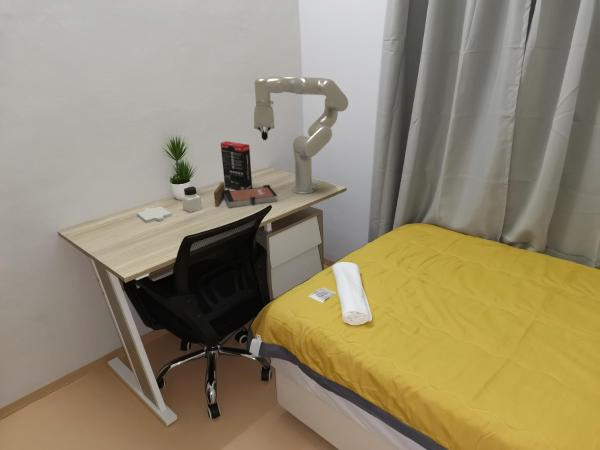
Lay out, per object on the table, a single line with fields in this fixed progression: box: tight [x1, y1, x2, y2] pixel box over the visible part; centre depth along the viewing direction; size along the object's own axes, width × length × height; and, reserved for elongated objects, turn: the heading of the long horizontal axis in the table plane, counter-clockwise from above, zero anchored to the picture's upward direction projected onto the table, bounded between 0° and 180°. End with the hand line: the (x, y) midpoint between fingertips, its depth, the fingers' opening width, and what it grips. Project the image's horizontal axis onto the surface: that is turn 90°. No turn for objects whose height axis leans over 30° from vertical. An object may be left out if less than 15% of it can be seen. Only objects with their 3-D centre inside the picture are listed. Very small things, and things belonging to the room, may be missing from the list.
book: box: [223, 184, 278, 209], centre depth 219 cm, size 26×18×5 cm
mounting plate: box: [136, 206, 173, 224], centre depth 202 cm, size 18×13×2 cm
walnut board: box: [213, 181, 226, 208], centre depth 218 cm, size 2×17×8 cm, turn 177°
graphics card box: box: [220, 141, 253, 190], centre depth 233 cm, size 17×7×27 cm, turn 58°
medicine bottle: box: [181, 185, 203, 213], centre depth 207 cm, size 7×7×12 cm
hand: (264, 139), depth 211 cm, fingers closed
